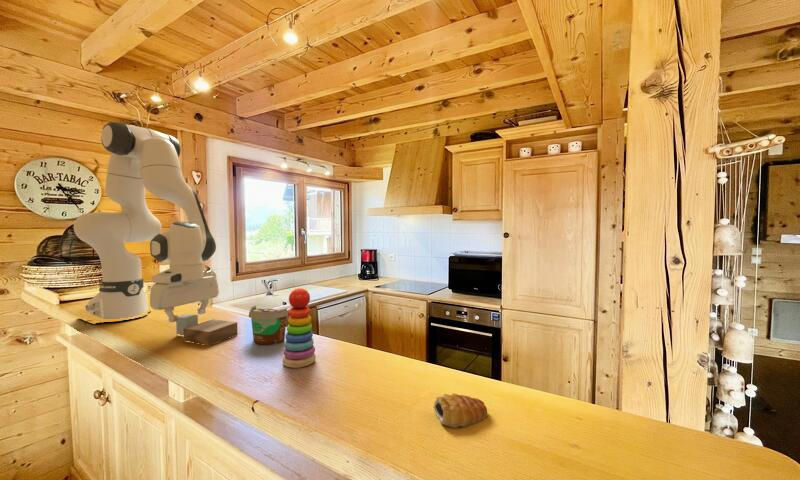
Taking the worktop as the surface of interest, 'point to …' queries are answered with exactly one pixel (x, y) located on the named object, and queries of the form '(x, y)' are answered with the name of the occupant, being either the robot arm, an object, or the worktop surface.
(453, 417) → the pastry
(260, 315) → the food container
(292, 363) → the stacking toy
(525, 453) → the worktop surface
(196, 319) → the blue-grey block
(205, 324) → the walnut base
